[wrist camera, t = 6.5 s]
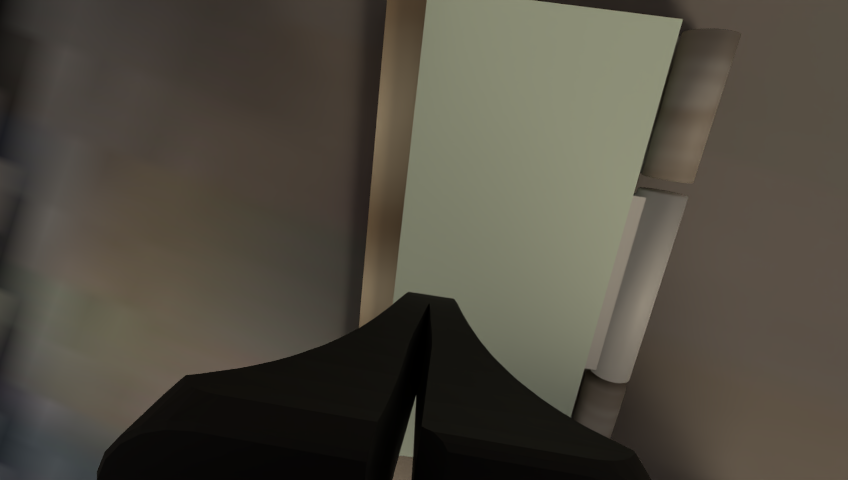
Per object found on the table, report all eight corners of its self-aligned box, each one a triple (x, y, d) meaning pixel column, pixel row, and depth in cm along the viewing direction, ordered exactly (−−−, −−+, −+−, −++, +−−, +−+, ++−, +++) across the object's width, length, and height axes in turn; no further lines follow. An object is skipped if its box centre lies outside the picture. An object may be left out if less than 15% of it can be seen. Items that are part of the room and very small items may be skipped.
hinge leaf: (590, 460, 19) (602, 490, 18) (380, 430, 19) (375, 457, 18) (722, 34, 14) (756, 25, 12) (429, -2, 14) (427, -16, 12)
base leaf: (584, 444, 20) (601, 490, 18) (356, 405, 21) (342, 445, 18) (706, 39, 15) (755, 25, 12) (393, 2, 15) (379, -19, 13)
